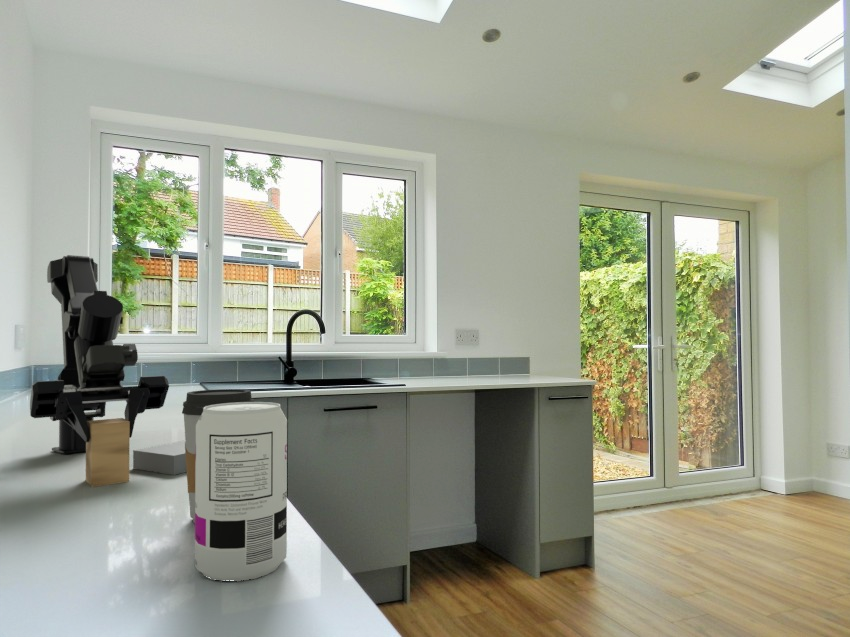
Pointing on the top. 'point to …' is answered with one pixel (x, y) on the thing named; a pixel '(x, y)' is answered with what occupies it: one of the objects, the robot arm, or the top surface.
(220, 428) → the supplement can
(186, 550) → the top surface
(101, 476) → the caramel block
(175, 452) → the gray plinth
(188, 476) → the coffee cup
